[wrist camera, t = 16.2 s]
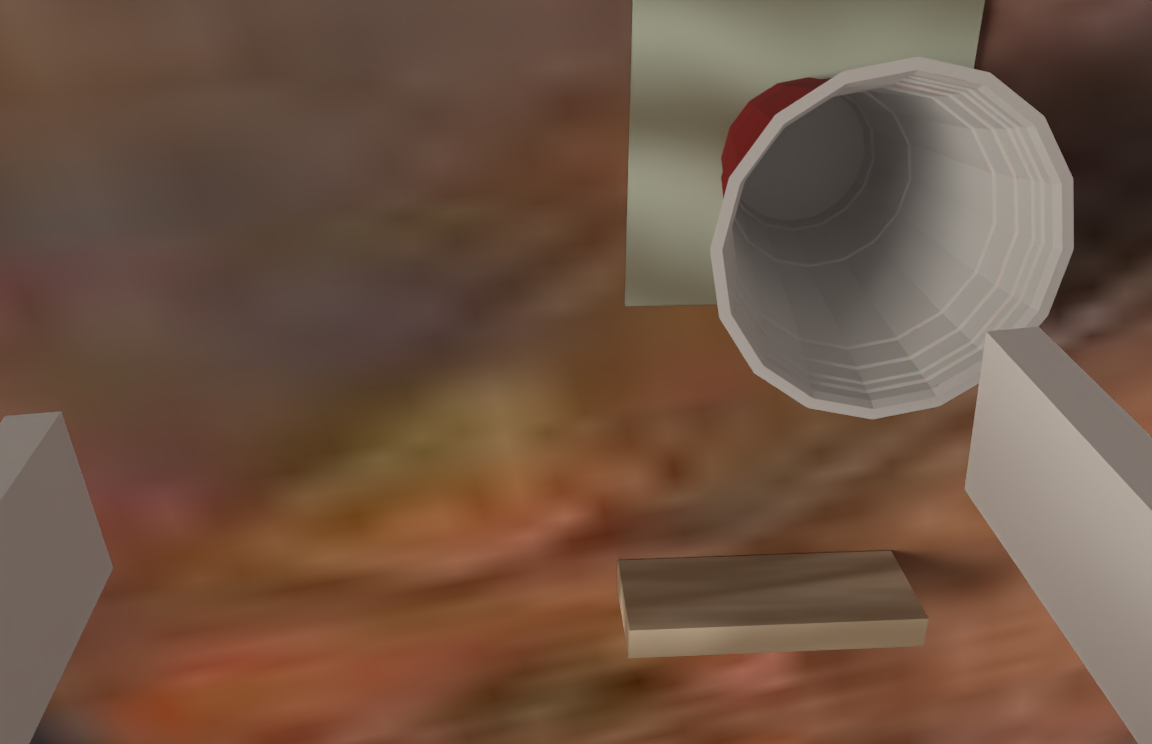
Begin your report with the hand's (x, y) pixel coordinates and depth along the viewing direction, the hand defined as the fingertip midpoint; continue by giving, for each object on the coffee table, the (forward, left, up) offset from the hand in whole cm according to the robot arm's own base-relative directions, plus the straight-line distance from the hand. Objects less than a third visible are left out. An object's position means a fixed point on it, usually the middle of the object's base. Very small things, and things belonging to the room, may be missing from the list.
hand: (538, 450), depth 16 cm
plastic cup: (+3, +11, -27) cm, 30 cm away
